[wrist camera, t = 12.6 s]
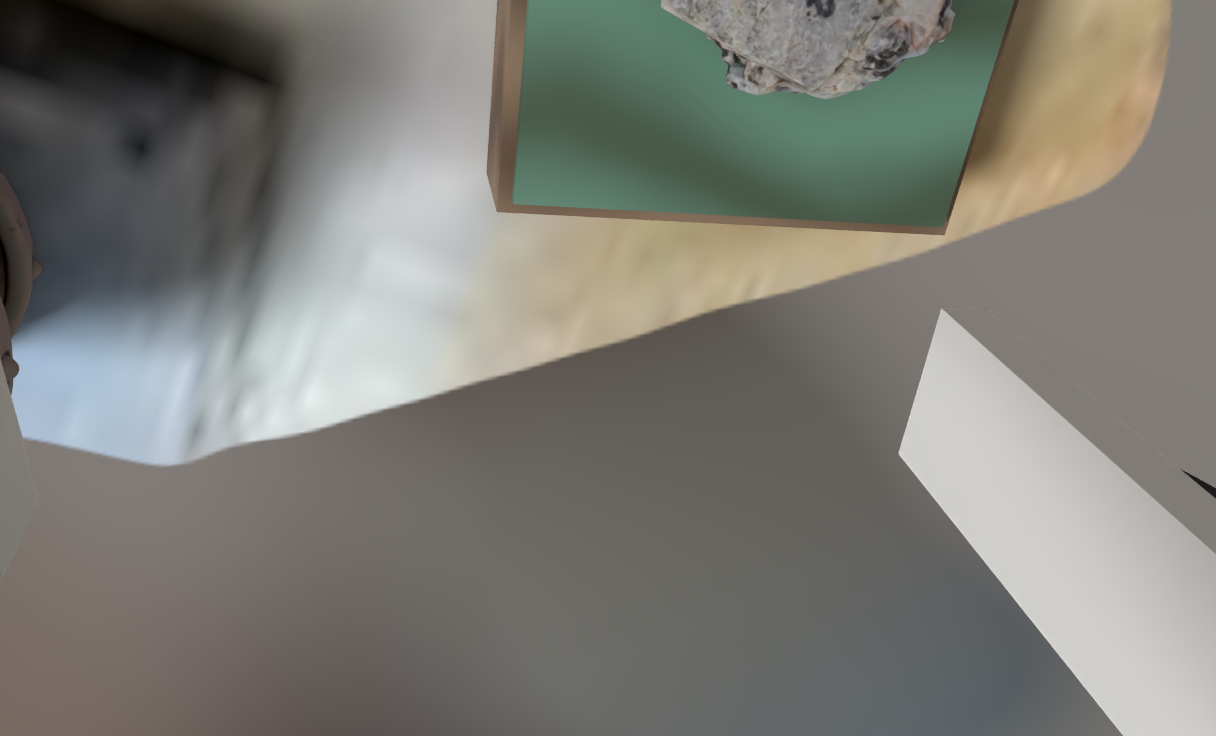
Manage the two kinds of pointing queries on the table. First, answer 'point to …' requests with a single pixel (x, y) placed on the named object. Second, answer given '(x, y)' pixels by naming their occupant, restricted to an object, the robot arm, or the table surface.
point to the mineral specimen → (815, 40)
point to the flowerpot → (13, 273)
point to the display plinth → (725, 124)
